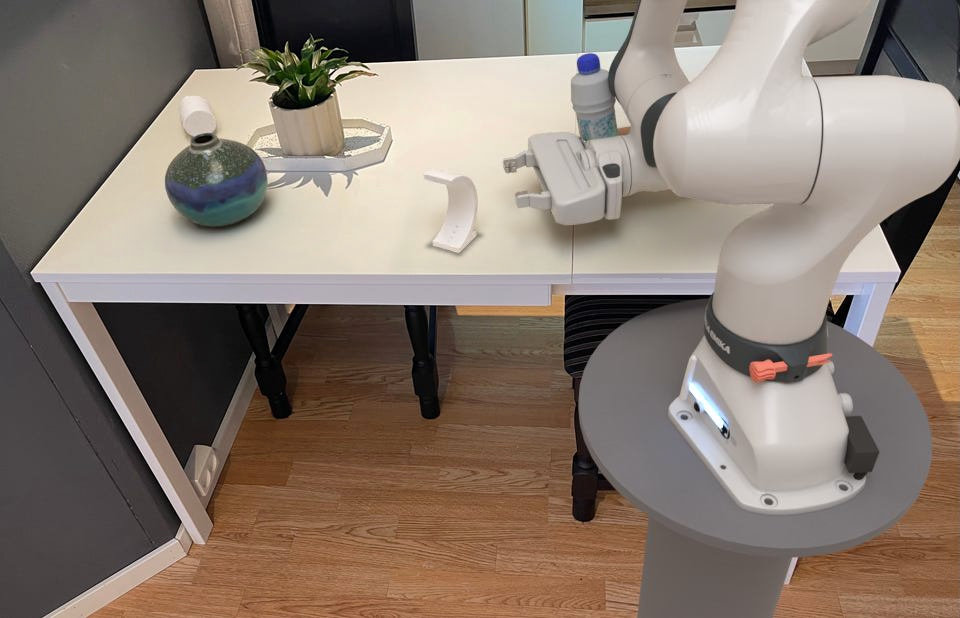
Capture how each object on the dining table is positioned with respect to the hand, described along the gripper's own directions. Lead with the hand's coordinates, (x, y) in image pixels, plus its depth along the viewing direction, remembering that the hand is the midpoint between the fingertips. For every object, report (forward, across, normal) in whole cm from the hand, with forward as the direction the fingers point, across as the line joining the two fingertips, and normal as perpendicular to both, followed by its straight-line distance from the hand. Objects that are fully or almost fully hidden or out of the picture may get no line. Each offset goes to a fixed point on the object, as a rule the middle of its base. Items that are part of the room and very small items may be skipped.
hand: (509, 182), depth 114 cm
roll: (+52, -50, +9) cm, 73 cm away
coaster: (-25, -20, +8) cm, 33 cm away
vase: (+44, -15, +8) cm, 47 cm away
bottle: (-17, -10, +8) cm, 21 cm away
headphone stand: (+9, +2, +8) cm, 12 cm away
